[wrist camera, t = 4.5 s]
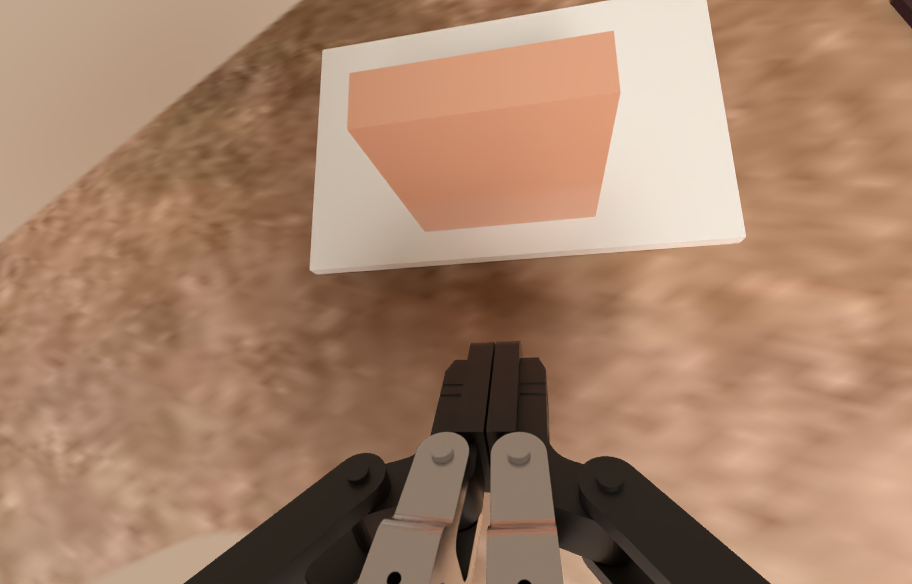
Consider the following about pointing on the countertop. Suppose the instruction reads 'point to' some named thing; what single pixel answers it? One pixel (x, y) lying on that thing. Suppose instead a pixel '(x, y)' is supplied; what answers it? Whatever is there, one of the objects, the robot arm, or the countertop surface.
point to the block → (492, 131)
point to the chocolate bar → (904, 9)
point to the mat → (628, 163)
